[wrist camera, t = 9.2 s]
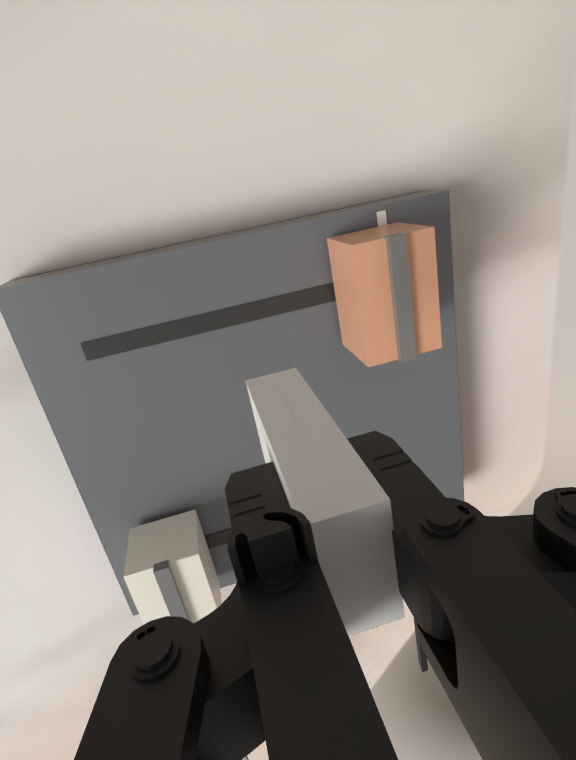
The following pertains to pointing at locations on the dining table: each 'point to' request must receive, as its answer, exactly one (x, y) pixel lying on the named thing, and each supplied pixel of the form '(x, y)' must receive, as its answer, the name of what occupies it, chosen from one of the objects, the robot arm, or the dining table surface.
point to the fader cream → (171, 569)
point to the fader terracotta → (387, 292)
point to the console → (220, 366)
